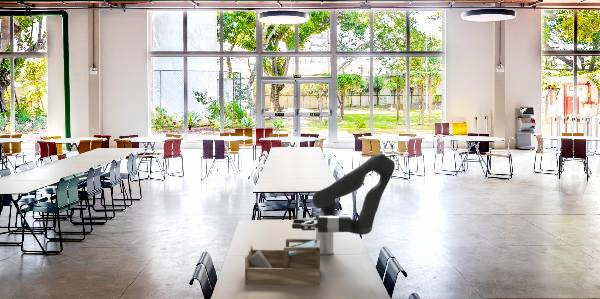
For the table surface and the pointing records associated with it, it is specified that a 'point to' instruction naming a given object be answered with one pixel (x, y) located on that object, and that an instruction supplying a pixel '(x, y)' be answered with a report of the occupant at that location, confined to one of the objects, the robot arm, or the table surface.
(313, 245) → the trapdoor
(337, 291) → the table surface
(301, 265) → the trapdoor frame
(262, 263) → the granite stone
